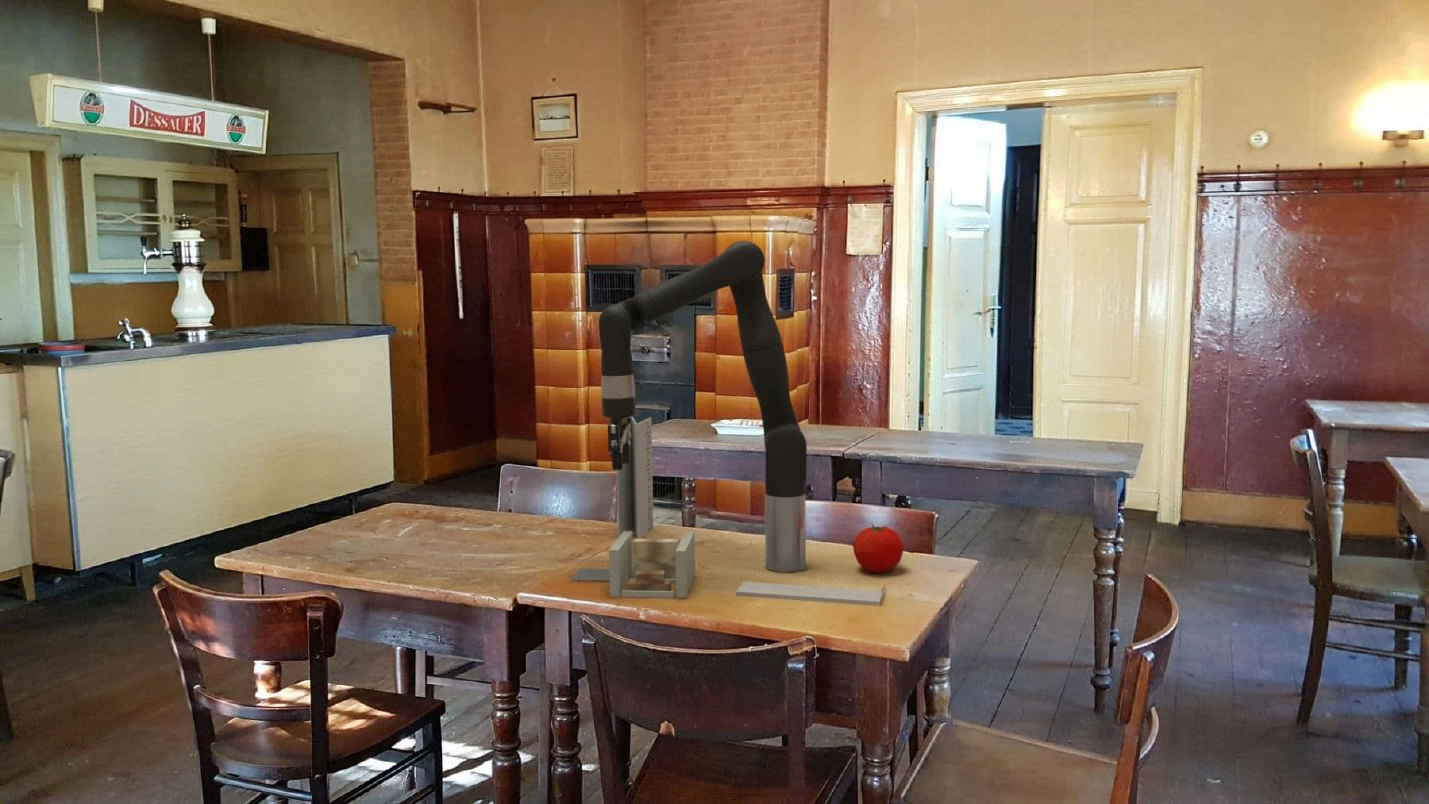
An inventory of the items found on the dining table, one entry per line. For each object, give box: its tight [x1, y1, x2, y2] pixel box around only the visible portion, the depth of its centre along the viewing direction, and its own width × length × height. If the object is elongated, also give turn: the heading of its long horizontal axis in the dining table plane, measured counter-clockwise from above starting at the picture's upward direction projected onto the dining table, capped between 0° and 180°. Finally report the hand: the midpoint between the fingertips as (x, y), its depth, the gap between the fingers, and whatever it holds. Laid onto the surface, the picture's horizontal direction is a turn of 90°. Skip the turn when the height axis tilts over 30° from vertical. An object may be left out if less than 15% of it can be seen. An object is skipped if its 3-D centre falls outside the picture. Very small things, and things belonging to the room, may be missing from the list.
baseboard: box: [735, 581, 886, 607], centre depth 218 cm, size 30×3×10 cm
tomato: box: [852, 523, 904, 573], centre depth 235 cm, size 11×13×10 cm
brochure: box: [615, 416, 654, 539], centre depth 271 cm, size 14×6×30 cm, turn 168°
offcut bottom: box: [626, 579, 672, 591], centre depth 219 cm, size 9×3×3 cm, turn 85°
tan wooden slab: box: [633, 538, 681, 579], centre depth 229 cm, size 10×2×9 cm, turn 84°
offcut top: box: [635, 570, 665, 584], centre depth 219 cm, size 6×3×2 cm, turn 90°
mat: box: [570, 568, 610, 583], centre depth 233 cm, size 10×9×1 cm
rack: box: [608, 530, 696, 599], centre depth 224 cm, size 16×16×10 cm
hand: (621, 466), depth 234 cm, fingers open, 8 cm apart
